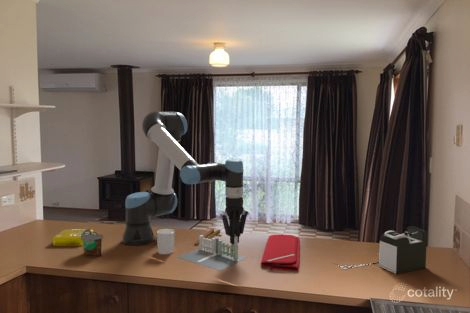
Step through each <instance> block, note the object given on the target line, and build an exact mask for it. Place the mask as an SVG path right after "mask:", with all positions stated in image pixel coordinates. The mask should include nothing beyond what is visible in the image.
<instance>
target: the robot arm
mask: <svg viewBox="0 0 470 313" xmlns="http://www.w3.org/2000/svg"><path fill="white" fill-rule="evenodd" d="M141 127H142V128H141V129H142V131H143V134H144V135H145V137H146V138H147V139H148V140H149V141H151V142H154V144H156V145H157V147H158V154H157V155H158V156H157V163H156V164H157V165H156V171H155V181H154V186H152V187H151V190H150V193H149V192H147V191H140V192H139V191H138V192H134V193H131V194H128V195H127V196H126V198H125V204H124V207H125V228H124V232H123V235H122V243H123V244H125V245H130V246H140V245H142V246H143V245H146V244H150V243H152V242H154V240H155V234H154V231H153V229H152V225H151V218H154V217H159V216H165V215H168V214H172V213H173V212H174V211H175V210H176V208H177V206H178V205H177V204H178V198H177V194H176V193H175V190H174V189H173V187H172V185H173V178H174V170H175V167H176V168H177V169H178V170H179V176H180V177H179V178H180V179H181V182H182V183H184V184H185V185H196V184H202V183H208V182H215V181H219V182H220V181H221V182H225V184H224V185H225V187H224V188H225V208H224V212H223V213H220V214H219V216H220V218H221V219H222V224H223V227H224V232H225V235H226V236H228V237H229V243H230V245H238V244H239V243H240V237H241V235H243V234H244V231H245V230H244V229H245V226H246V222H247V221H246V219H247V217H248V214H249V211H247V210H245V208H244V206H243V205H244V197H243V196H244V162H243V161H242V160H241V159H226V160H225V162H224V163H221V162H207V163H204V164H203V163H202V164H199V163H198V162H197V160H195V159H194V158H193V157H192V155H190V154H189V153H188V152H187V151H186V149H185V148H184V147H183V146H181V144H180V143H179V142H181V141H182V139H181V138H182V136H184V135H185V134H186V133H187V131H188V121H187V118H186V117H185V116H184V114H182V113H181V112H178V111H158V110H157V111H155V110H154V111H151V112H149V113H147V114H146V115H145V116H144V118H143V119H142V123H141ZM238 246H239V245H238Z"/></svg>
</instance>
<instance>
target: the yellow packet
mask: <svg viewBox="0 0 470 313" xmlns="http://www.w3.org/2000/svg"><path fill="white" fill-rule="evenodd" d="M87 229H88V228H74V229H73V228H71V229H69V228H68V229H67V228H66V229H63V230H61V231H60V232H59V233H57V234H56V235H54V236H53V237H52V246H54V247H83V239H82V238H81V234H82V232H83V231H84V230H87ZM89 229H90V231H91V232H94V229H92V228H89Z"/></svg>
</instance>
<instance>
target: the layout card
mask: <svg viewBox="0 0 470 313" xmlns="http://www.w3.org/2000/svg"><path fill="white" fill-rule="evenodd" d="M177 258H178V259H181V260H185V261H187V262H191V263H193V264H196V265H200V266H203V267H206V268H211V269H212V270H213V269H214V270H217V271H220V272H221V271H222V270H224V269H227V268H229V267H230V266H231V267H232V265H235V264H237V263H238V262H240V261H243V260H244V259H247V257H245V256H242V255H239V254H238V260H234V259H233V257H230V255H229V256H226V254H225V255H223V253H222V254H221V255H220V254H218V253H216V252H215V253H211V252H209V251H206V250H204V249H203V250H200V249H199V248H197V249H194V250H192V251H189V252H185V253H184V254H181V255H178V256H177Z"/></svg>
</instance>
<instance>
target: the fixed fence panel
mask: <svg viewBox="0 0 470 313" xmlns="http://www.w3.org/2000/svg"><path fill="white" fill-rule="evenodd" d="M198 240H199V245H198V249H200V250H203V249H204V250H206V251H209V252H211V253H215V252H216V238H215V237H213V238H212V239H207V238H204V235H203V234H201V235H199V238H198Z"/></svg>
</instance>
